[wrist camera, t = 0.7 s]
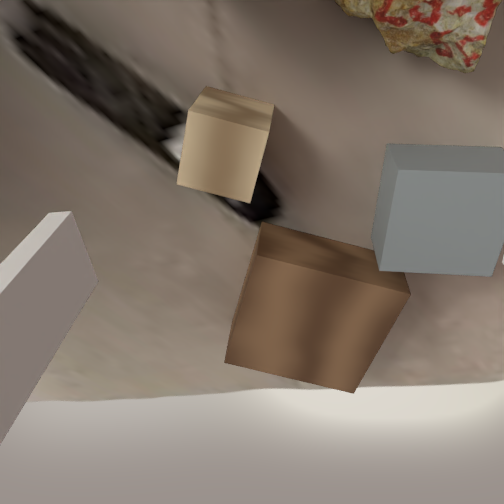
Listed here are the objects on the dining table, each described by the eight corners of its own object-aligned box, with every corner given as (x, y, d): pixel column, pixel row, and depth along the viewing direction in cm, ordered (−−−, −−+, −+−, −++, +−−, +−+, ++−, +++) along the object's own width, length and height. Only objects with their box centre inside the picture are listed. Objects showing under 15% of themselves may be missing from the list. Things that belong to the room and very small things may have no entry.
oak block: (194, 151, 35) (176, 184, 30) (206, 85, 32) (188, 110, 27) (257, 167, 35) (250, 203, 30) (274, 104, 32) (269, 132, 27)
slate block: (370, 235, 37) (379, 270, 33) (386, 142, 33) (398, 169, 29) (470, 240, 37) (491, 276, 33) (499, 146, 32) (528, 174, 28)
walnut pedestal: (231, 324, 44) (224, 362, 40) (261, 221, 37) (256, 255, 33) (348, 352, 45) (353, 393, 41) (399, 257, 38) (410, 294, 34)
